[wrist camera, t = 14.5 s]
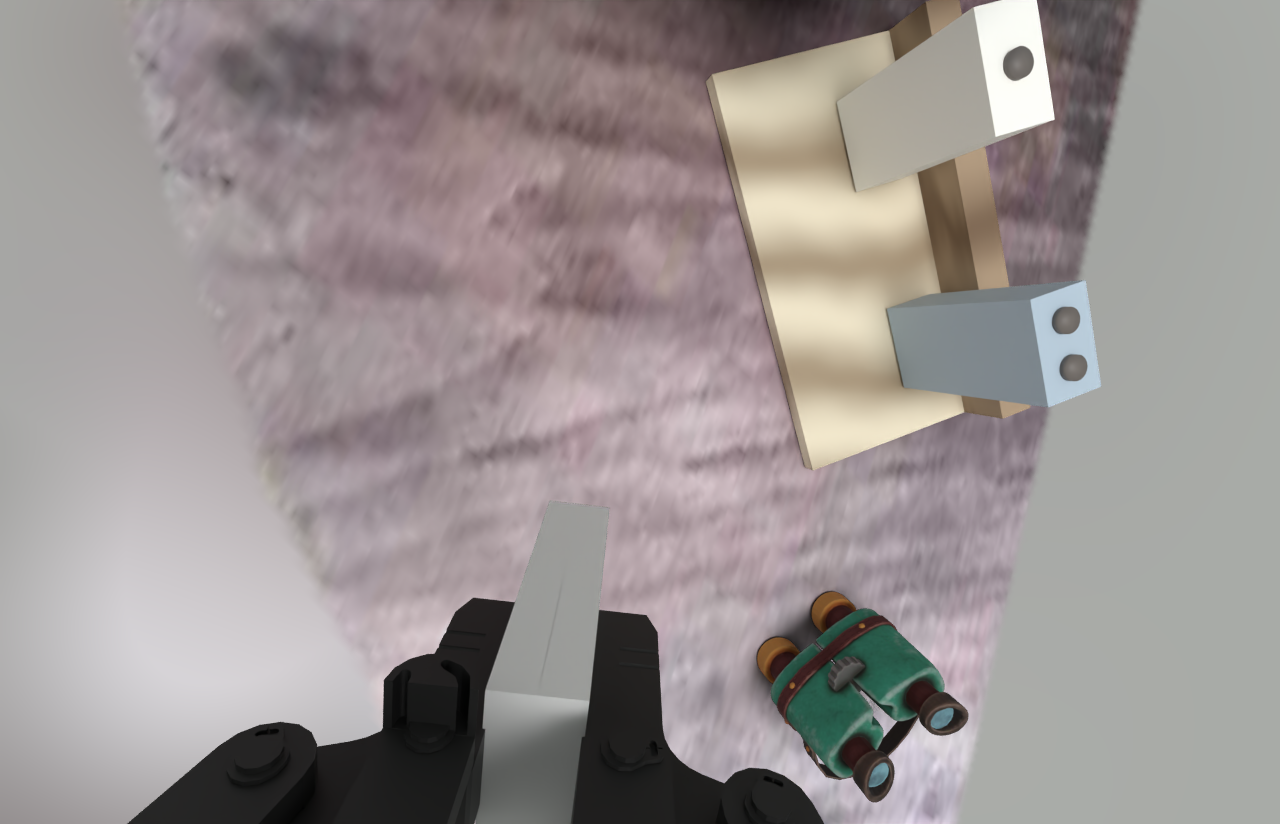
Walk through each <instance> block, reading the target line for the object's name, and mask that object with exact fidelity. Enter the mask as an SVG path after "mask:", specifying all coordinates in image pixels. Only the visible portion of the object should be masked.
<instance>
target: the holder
mask: <svg viewBox="0 0 1280 824" xmlns="http://www.w3.org/2000/svg"><path fill="white" fill-rule="evenodd" d="M960 16H962V13H961V7H960V1H959V0H931V1H927V2H925V3H924V4H922V5H921V6H920V7H918V8H917V9H916V10H915V11H913V12H912V13H911V14H910V15H908V16H907V17H906V18H904V19H903V20H902V21H901V22H899V23H898V24H897V25H895V26H894V27H893V28H892V29H890V30H889V31H885V32H881V33H877V34H873V35H869V36H865V37H861V38H857V39H853V40H849V41H845V42H841V43H836V44H832V45H828V46H824V47H820V48H816V49H812V50H808V51H804V52H800V53H796V54H792V55H788V56H784V57H780V58H776V59H772V60H768V61H764V62H760V63H756V64H752V65H748V66H744V67H740V68H736V69H732V70H728V71H724V72H720V73H716V74H712V75H711V76H710V78H709V79H708V80H707V81H706V85H707V88H708V92H709V96H710V100H711V104H712V108H713V112H714V116H715V119H716V123H717V127H718V131H719V135H720V139H721V143H722V147H723V151H724V154H725V158H726V162H727V166H728V170H729V174H730V178H731V182H732V186H733V189H734V193H735V197H736V201H737V205H738V209H739V213H740V217H741V221H742V224H743V228H744V232H745V236H746V240H747V244H748V248H749V252H750V255H751V259H752V263H753V267H754V271H755V275H756V279H757V283H758V287H759V290H760V294H761V298H762V302H763V306H764V310H765V314H766V318H767V322H768V325H769V329H770V333H771V337H772V341H773V345H774V349H775V353H776V356H777V360H778V364H779V368H780V372H781V376H782V380H783V384H784V388H785V391H786V395H787V399H788V403H789V407H790V411H791V415H792V419H793V423H794V426H795V430H796V434H797V438H798V442H799V446H800V450H801V454H802V457H803V461H804V465H805V467H806V468H808V469H811V470H816V469H818V468H821V467H824V466H826V465H829V464H831V463H834V462H836V461H839V460H842V459H844V458H847V457H849V456H852V455H855V454H857V453H860V452H862V451H865V450H868V449H870V448H873V447H875V446H878V445H880V444H883V443H886V442H888V441H891V440H893V439H896V438H899V437H901V436H904V435H906V434H909V433H912V432H914V431H917V430H919V429H922V428H924V427H927V426H930V425H932V424H935V423H937V422H940V421H943V420H945V419H948V418H950V417H953V416H956V415H958V414H961V413H963V412H967V413H973V414H979V415H985V416H990V417H996V418H1002V419H1003V418H1005V417H1008V416H1011V415H1013V414H1016V413H1018V412H1021V411H1023V410H1026V409H1028V408H1030V405H1027V404H1020V403H1013V402H1006V401H998V400H991V399H984V398H976V397H969V396H962V395H955V394H947V393H940V392H933V391H925V390H918V389H911V388H904V385H903V381H902V376H901V371H900V367H899V362H898V358H897V353H896V348H895V344H894V339H893V334H892V330H891V325H890V321H889V316H888V311H887V308H890V307H893V306H896V305H899V304H902V303H905V302H908V301H911V300H914V299H917V298H920V297H922V296H925V295H928V294H937V293H948V292H959V291H970V290H981V289H992V288H1003V287H1009V282H1008V277H1007V271H1006V265H1005V260H1004V254H1003V248H1002V242H1001V237H1000V231H999V225H998V219H997V214H996V208H995V202H994V196H993V191H992V185H991V179H990V173H989V168H988V162H987V156H986V151H985V147H982V148H979V149H977V150H974V151H972V152H969V153H967V154H964V155H961V156H959V157H956V158H954V159H951V160H948V161H946V162H943V163H941V164H938V165H935V166H933V167H930V168H928V169H925V170H923V171H920V172H917V173H915V174H912V175H910V176H907V177H904V178H902V179H899V180H895V181H892V182H889V183H885V184H882V185H879V186H875V187H872V188H869V189H865V190H862V191H859V192H856V189H855V184H854V180H853V175H852V171H851V166H850V161H849V157H848V152H847V148H846V143H845V139H844V134H843V129H842V125H841V120H840V116H839V111H838V106H837V101H839V100H840V99H842V98H843V97H845V96H846V95H847V94H849V93H850V92H852V91H853V90H855V89H856V88H858V87H859V86H860V85H862V84H863V83H865V82H866V81H868V80H869V79H871V78H872V77H873V76H875V75H876V74H878V73H879V72H881V71H882V70H884V69H885V68H886V67H888V66H889V65H891V64H892V63H894V62H895V61H897V60H898V59H899V58H901V57H902V56H904V55H905V54H907V53H908V52H910V51H911V50H913V49H914V48H915V47H917V46H918V45H920V44H921V43H923V42H924V41H926V40H927V39H928V38H930V37H931V36H933V35H934V34H936V33H937V32H939V31H940V30H941V29H943V28H944V27H946V26H947V25H949V24H950V23H952V22H953V21H954V20H956V19H957V18H959V17H960Z"/></svg>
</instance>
